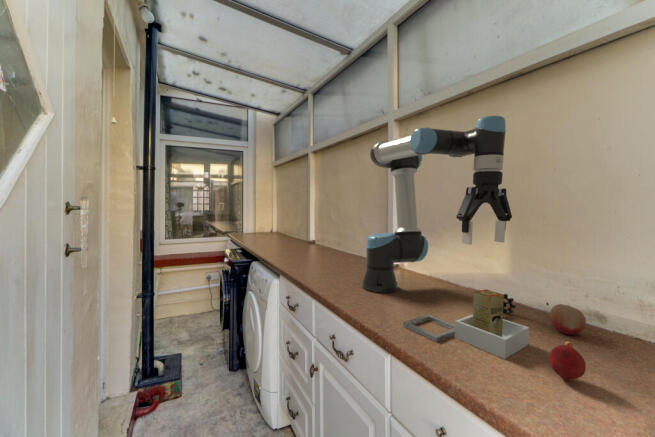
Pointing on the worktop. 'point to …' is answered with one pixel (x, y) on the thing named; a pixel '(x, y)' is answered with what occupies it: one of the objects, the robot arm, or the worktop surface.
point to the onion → (567, 362)
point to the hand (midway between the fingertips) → (483, 242)
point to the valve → (507, 304)
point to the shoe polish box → (488, 311)
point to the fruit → (567, 319)
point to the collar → (436, 338)
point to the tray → (493, 337)
